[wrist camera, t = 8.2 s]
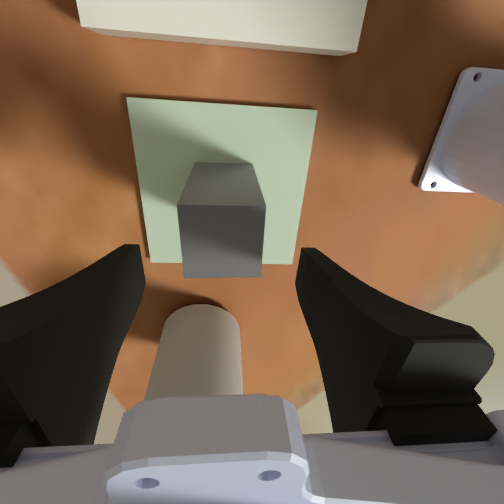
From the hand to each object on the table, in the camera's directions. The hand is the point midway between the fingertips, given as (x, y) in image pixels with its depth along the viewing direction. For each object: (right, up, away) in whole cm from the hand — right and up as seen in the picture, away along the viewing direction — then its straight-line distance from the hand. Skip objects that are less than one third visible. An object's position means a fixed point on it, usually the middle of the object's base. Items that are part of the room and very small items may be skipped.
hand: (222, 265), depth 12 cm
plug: (-1, +5, +8) cm, 9 cm away
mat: (-1, +5, +8) cm, 10 cm away
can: (-4, -7, +16) cm, 17 cm away
